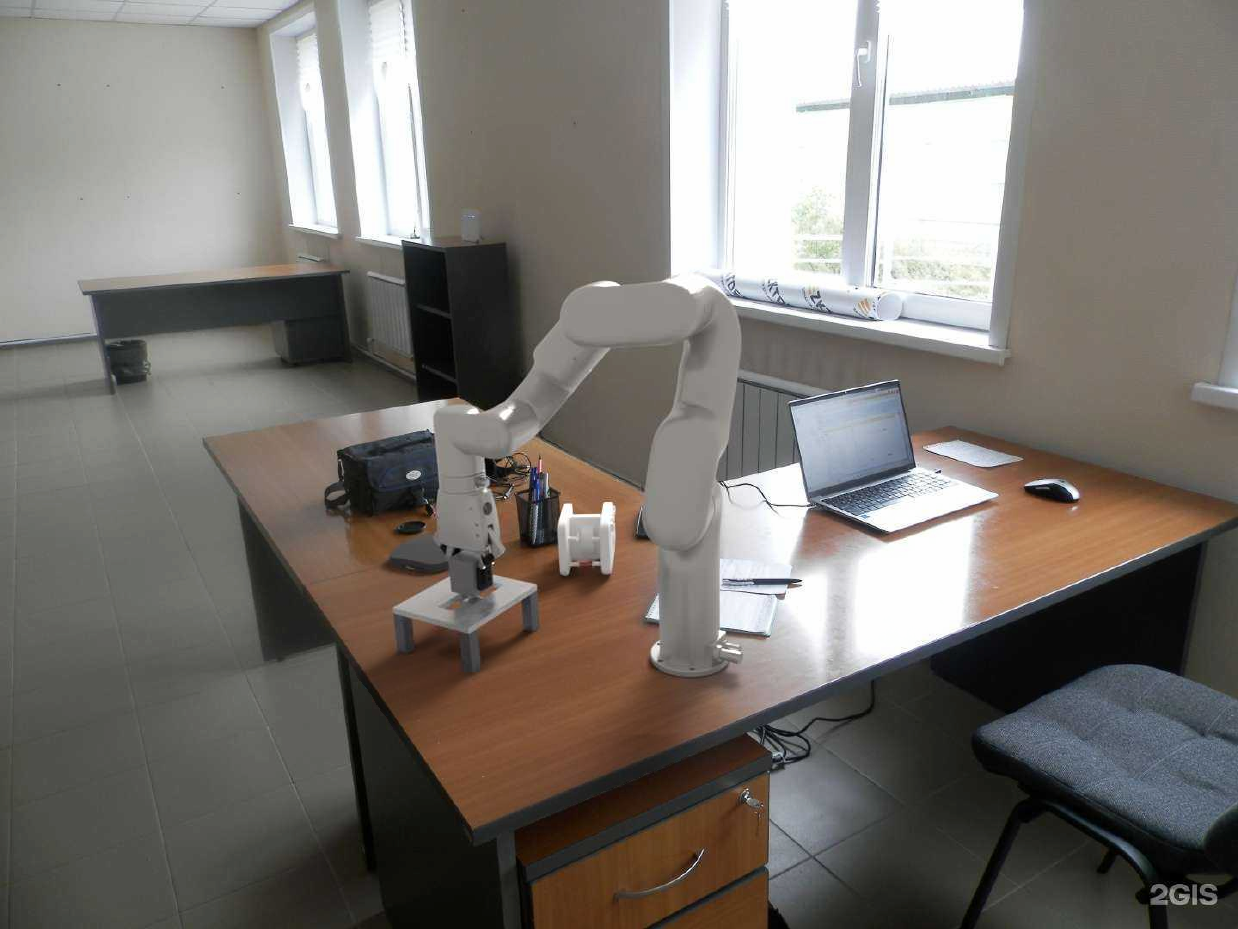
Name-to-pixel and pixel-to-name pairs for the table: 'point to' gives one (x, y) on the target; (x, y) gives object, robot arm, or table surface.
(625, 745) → the table surface
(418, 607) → the miniature table
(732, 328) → the robot arm
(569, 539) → the cable organizer
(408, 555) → the media streaming box
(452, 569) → the peg
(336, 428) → the table surface
